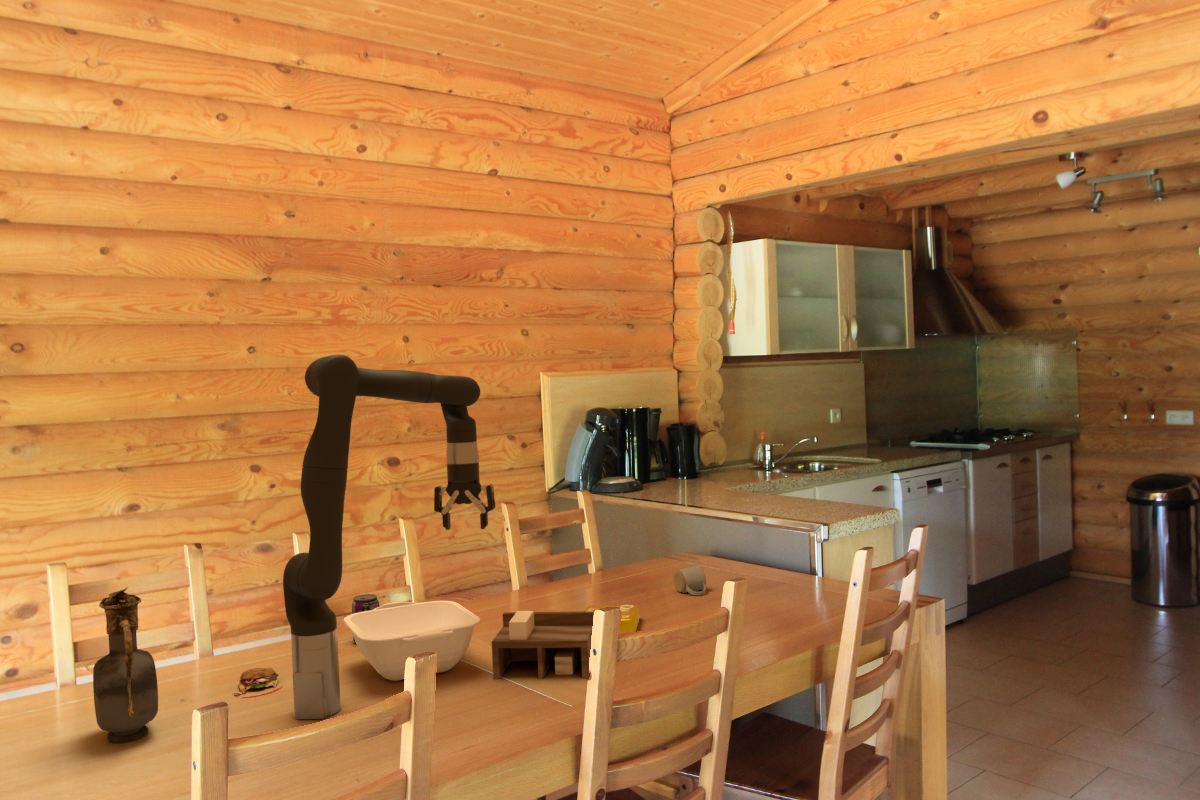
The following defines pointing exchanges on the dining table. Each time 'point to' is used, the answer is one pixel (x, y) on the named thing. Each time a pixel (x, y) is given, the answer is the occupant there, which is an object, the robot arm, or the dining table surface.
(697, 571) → the ceramic mug
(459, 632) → the white plastic basin
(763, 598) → the dining table surface
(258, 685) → the hamburger
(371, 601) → the beverage can
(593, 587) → the dining table surface
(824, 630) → the dining table surface
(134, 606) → the pitcher
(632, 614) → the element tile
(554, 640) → the walnut shelf
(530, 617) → the cream block
